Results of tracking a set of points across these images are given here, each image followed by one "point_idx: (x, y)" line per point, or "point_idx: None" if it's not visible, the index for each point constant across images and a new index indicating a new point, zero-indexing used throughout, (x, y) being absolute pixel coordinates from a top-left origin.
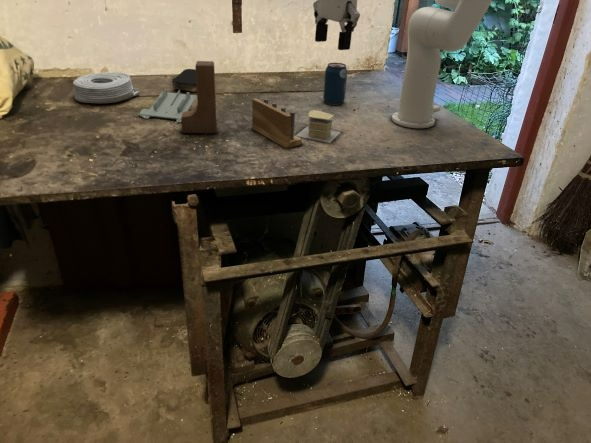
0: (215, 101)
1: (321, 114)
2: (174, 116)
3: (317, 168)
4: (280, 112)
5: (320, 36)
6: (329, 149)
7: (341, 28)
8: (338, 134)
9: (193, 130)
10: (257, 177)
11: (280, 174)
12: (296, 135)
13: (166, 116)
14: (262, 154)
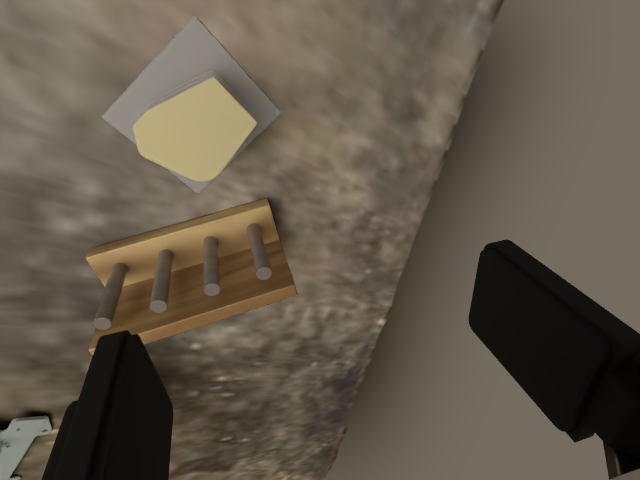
0: None
1: (191, 125)
2: (22, 444)
3: (403, 208)
4: (258, 305)
5: (160, 425)
6: (322, 135)
7: (620, 466)
8: (215, 40)
9: None
10: (383, 315)
11: (391, 280)
12: (195, 189)
13: (19, 456)
14: None
